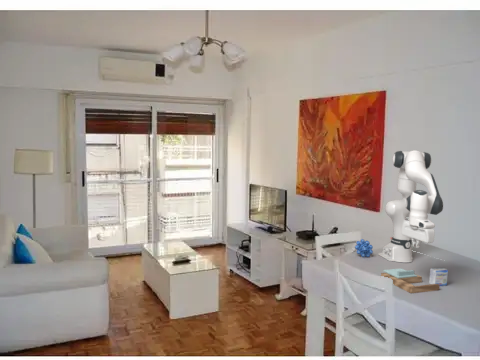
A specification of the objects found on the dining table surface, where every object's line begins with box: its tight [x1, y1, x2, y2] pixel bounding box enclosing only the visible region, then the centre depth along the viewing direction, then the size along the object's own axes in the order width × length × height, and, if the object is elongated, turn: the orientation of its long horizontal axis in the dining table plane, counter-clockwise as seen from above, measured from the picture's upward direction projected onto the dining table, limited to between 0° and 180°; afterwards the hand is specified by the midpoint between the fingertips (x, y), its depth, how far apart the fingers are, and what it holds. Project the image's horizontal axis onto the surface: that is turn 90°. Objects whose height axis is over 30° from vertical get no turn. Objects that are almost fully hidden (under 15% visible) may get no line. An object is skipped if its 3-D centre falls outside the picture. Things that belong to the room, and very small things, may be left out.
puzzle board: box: [380, 272, 441, 294], centre depth 237 cm, size 24×18×3 cm
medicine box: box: [428, 267, 449, 287], centre depth 237 cm, size 8×4×9 cm, turn 105°
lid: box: [383, 268, 418, 278], centre depth 244 cm, size 12×12×3 cm
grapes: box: [354, 238, 374, 258], centre depth 286 cm, size 12×7×12 cm, turn 86°
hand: (416, 247), depth 232 cm, fingers closed
